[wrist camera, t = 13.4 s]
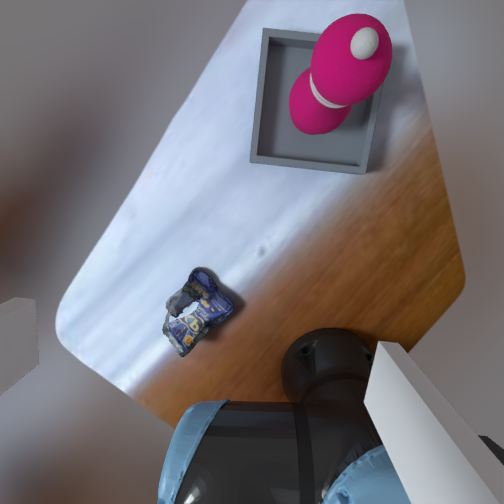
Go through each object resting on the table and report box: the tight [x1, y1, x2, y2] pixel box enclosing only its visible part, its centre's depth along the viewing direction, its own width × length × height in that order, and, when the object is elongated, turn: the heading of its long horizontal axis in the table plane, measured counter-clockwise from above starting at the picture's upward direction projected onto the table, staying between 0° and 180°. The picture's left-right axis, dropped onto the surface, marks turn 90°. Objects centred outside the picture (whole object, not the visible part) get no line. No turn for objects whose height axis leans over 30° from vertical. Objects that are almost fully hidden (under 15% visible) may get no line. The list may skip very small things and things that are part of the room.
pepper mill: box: [289, 14, 392, 135], centre depth 29 cm, size 7×7×20 cm
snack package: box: [162, 268, 234, 357], centre depth 44 cm, size 12×6×12 cm
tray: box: [250, 28, 383, 175], centre depth 38 cm, size 15×15×3 cm
